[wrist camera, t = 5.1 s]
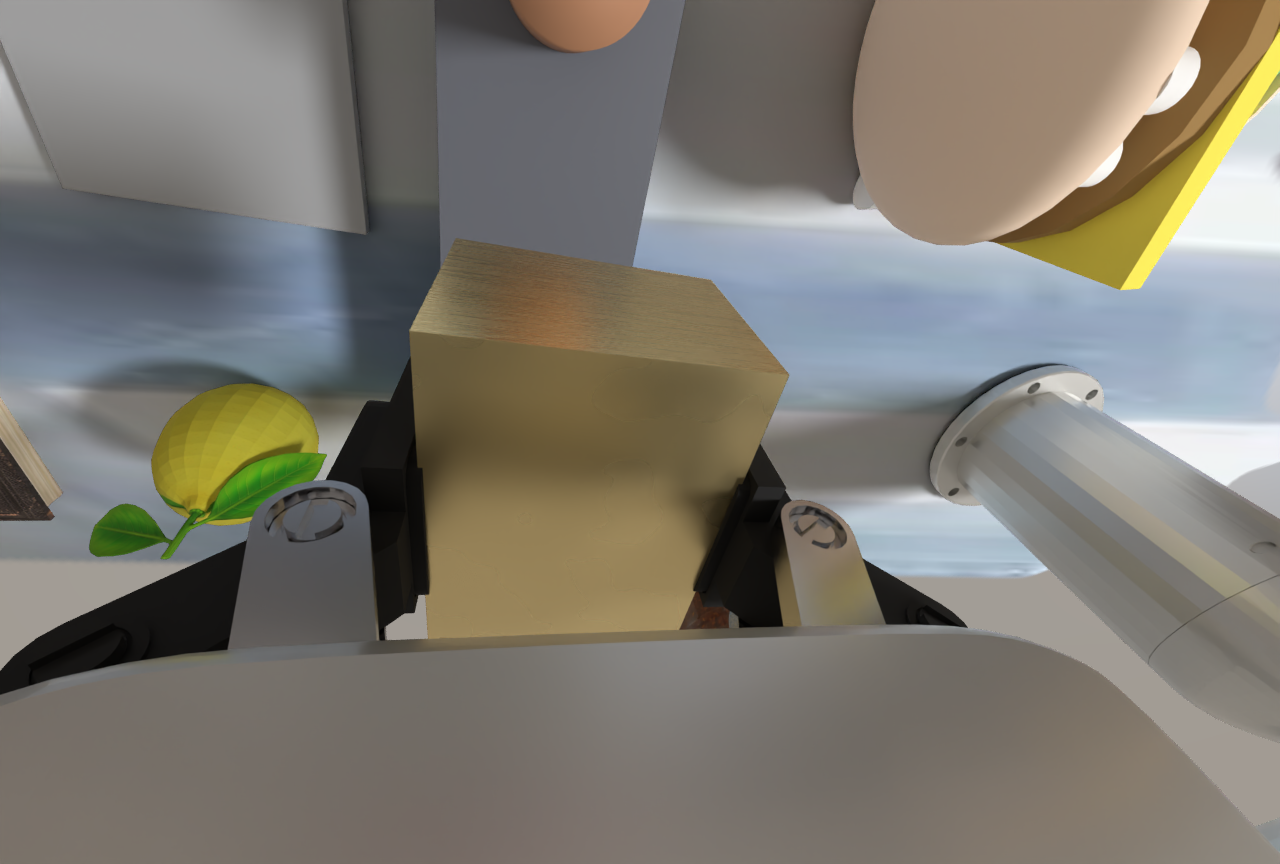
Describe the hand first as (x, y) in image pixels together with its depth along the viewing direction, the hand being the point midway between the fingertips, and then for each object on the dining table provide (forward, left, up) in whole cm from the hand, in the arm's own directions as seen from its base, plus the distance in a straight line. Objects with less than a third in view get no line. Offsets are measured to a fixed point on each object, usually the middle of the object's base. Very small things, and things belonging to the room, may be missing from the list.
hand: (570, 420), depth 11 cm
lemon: (+13, +10, -15) cm, 22 cm away
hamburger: (-15, -10, -15) cm, 23 cm away
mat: (+12, -4, -15) cm, 20 cm away
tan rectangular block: (0, 0, 0) cm, 1 cm away
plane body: (0, 0, -15) cm, 15 cm away
